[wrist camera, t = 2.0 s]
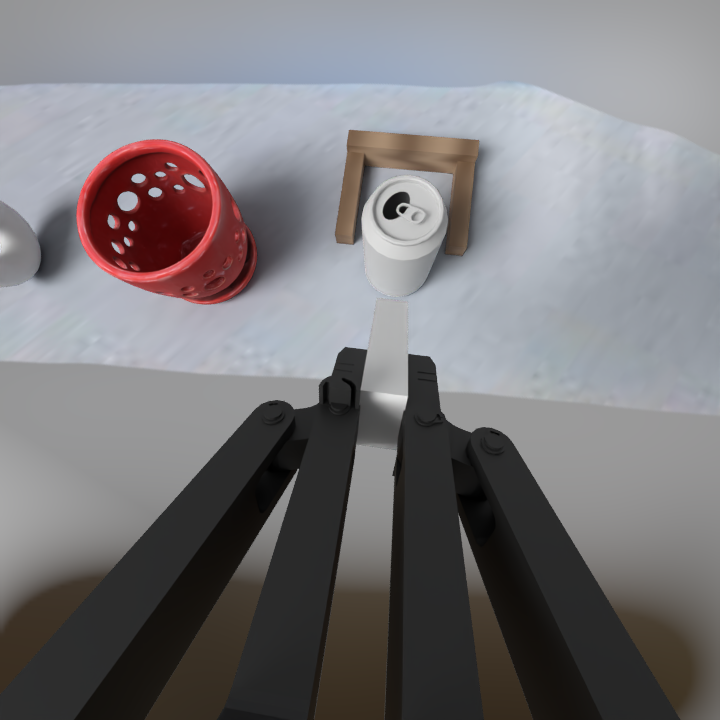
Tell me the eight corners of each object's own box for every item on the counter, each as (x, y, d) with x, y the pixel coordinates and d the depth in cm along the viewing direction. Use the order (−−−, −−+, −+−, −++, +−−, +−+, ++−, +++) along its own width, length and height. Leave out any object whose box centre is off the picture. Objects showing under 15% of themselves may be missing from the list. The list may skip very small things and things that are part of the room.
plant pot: (143, 258, 39) (43, 195, 27) (229, 196, 40) (167, 108, 28) (200, 339, 38) (120, 310, 26) (289, 273, 38) (250, 214, 26)
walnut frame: (471, 160, 39) (479, 140, 36) (462, 255, 37) (469, 243, 34) (350, 150, 40) (349, 129, 37) (337, 242, 38) (333, 229, 35)
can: (391, 227, 38) (398, 149, 26) (440, 263, 37) (472, 199, 26) (352, 274, 38) (341, 215, 26) (401, 312, 37) (414, 269, 25)
